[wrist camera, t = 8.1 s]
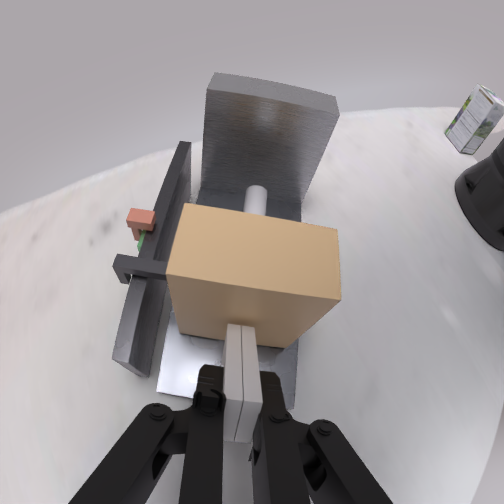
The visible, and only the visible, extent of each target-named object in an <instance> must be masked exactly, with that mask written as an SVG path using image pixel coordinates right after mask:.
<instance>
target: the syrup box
mask: <svg viewBox="0 0 504 504" xmlns="http://www.w3.org/2000/svg"><path fill="white" fill-rule="evenodd" d="M503 114H504V103H503V102H502V100H501V99H500V98H499V97H498V96H497V95H496V94H495V93H494V92H492V91H491V90H489V89H487V88H486V87H484V86H482V85H480V84H477V85H476V86H475V88H474V89H473V91H472V93H471V94H470V96H469V97H468V99H467V100H466V102H465V104H464V105H463V107H462V108H461V110H460V111H459V113H458V114H457V116H456V117H455V119H454V120H453V121H452V123H451V124H450V126H449V127H448V129H447V130H446V132H445V135H446V136H447V137H448V139H449V140H450V141H451V142H452V143H453V145H454V146H455V147H456V148H457V150H458V151H459V152H460V153H466V154H472V155H473V154H474V153H475V152H476V150H477V149H478V148H479V147H480V145H481V144H482V143H483V141H484V140H485V139H486V137H487V136H488V135H489V134H490V132H491V131H492V130H493V128H494V127H495V126H496V124H497V123H498V121H499V120H500V119H501V117H502V116H503Z"/></svg>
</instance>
